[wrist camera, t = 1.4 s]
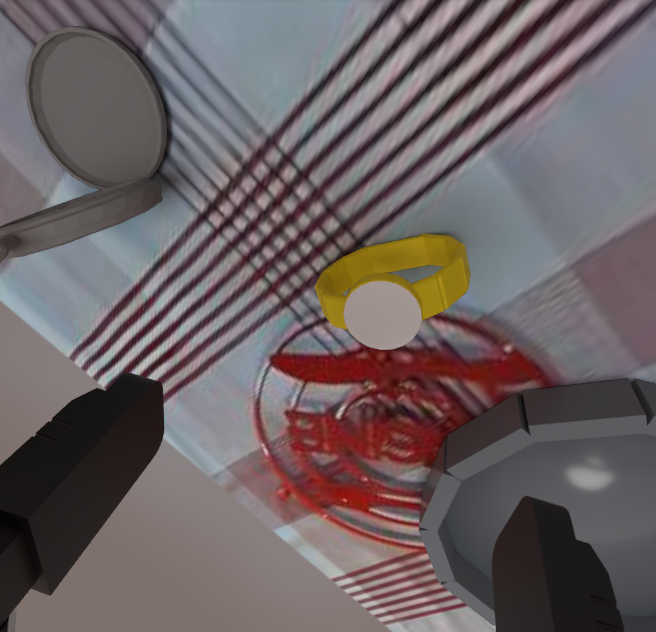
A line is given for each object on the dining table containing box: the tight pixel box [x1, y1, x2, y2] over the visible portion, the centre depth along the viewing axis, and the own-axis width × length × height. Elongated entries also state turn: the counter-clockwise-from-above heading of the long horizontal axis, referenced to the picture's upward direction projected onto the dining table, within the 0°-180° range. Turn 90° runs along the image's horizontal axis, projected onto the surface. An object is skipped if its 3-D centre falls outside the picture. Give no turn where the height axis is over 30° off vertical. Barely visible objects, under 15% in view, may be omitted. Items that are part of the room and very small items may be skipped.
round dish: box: [419, 378, 656, 632], centre depth 24 cm, size 18×18×2 cm
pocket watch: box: [0, 26, 167, 262], centre depth 17 cm, size 8×8×10 cm
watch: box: [315, 233, 471, 350], centre depth 18 cm, size 6×3×6 cm, turn 108°
